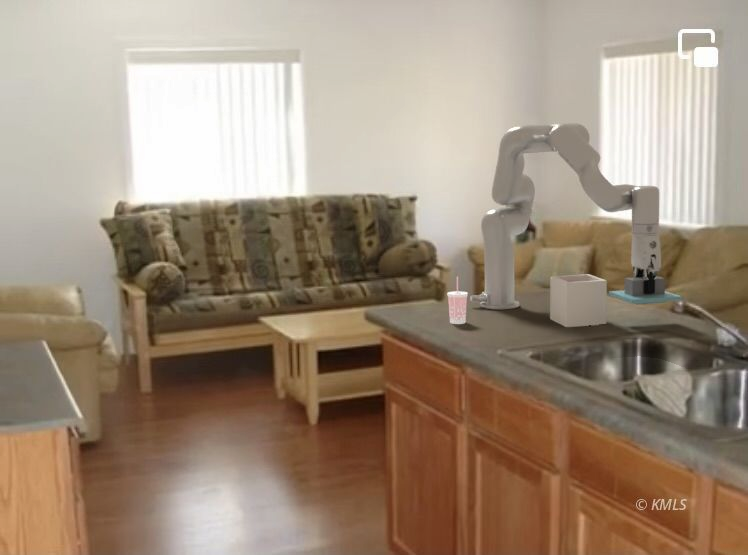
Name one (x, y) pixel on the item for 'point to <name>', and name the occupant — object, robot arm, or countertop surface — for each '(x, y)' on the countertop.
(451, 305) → the beverage cup
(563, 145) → the robot arm
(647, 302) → the teal lid
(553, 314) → the off-white crate
